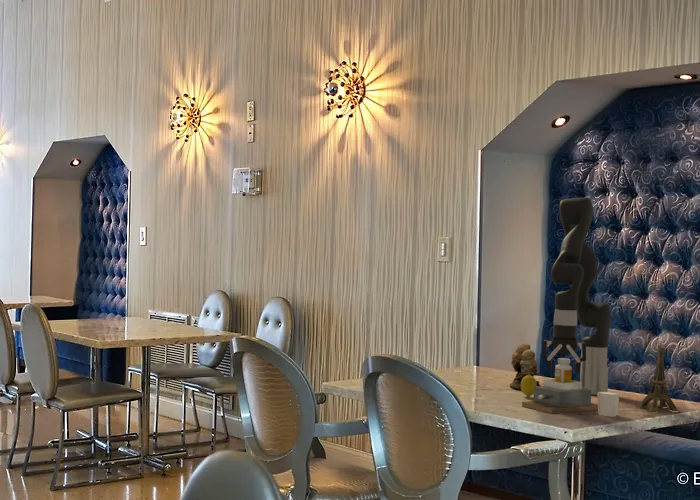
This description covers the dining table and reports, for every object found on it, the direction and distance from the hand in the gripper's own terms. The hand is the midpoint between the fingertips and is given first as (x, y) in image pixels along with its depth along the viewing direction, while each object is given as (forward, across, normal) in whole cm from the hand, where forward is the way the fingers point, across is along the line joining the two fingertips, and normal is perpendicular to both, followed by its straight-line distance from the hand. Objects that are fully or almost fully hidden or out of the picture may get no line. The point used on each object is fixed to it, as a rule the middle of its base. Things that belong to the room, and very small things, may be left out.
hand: (563, 372), depth 324 cm
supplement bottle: (+5, 0, 0) cm, 5 cm away
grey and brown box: (+12, 0, 0) cm, 12 cm away
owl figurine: (+12, +14, -41) cm, 45 cm away
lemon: (+12, +12, -19) cm, 25 cm away
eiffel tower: (+12, -31, -13) cm, 36 cm away
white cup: (+12, -14, +6) cm, 20 cm away
